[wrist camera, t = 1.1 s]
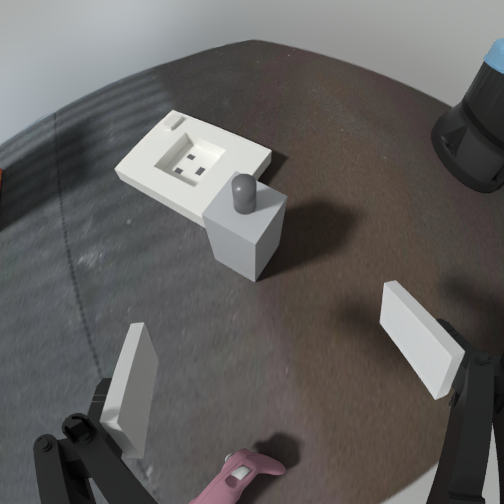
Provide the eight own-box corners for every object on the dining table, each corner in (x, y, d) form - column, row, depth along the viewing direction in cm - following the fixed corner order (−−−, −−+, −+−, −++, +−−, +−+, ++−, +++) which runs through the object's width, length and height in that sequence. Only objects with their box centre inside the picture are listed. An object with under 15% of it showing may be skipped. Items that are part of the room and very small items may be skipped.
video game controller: (258, 443, 27) (228, 439, 22) (292, 466, 25) (269, 470, 20) (206, 504, 24) (168, 510, 19) (236, 529, 22) (202, 542, 17)
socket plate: (270, 162, 38) (271, 147, 36) (217, 234, 35) (213, 222, 32) (175, 121, 42) (171, 107, 39) (120, 179, 38) (112, 166, 35)
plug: (278, 245, 34) (291, 174, 22) (254, 282, 32) (255, 226, 20) (235, 221, 35) (227, 144, 23) (210, 256, 34) (188, 190, 22)
